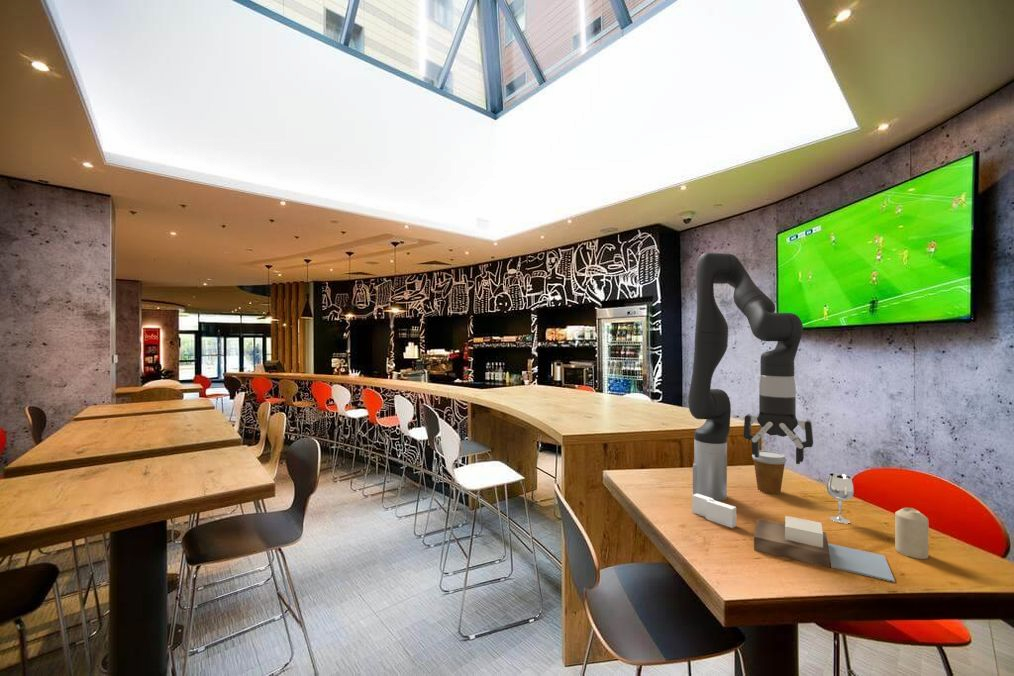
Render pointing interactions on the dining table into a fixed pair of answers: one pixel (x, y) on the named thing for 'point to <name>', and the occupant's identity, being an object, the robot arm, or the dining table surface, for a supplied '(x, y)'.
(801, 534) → the white block
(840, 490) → the wineglass
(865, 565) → the mat
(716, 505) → the napkin holder
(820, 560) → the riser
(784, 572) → the dining table surface
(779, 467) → the disposable coffee cup
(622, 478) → the dining table surface
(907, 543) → the candle
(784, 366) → the robot arm
